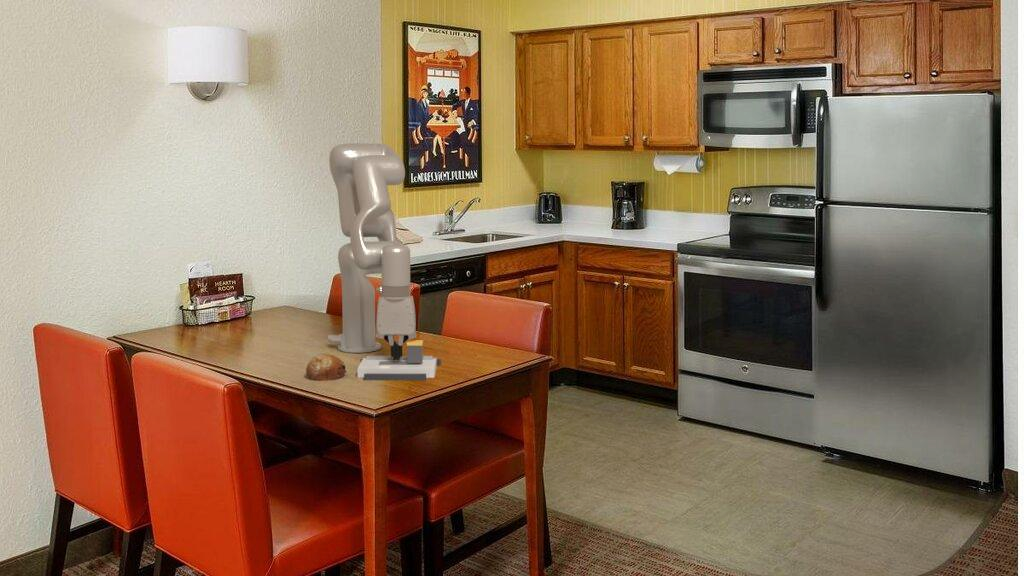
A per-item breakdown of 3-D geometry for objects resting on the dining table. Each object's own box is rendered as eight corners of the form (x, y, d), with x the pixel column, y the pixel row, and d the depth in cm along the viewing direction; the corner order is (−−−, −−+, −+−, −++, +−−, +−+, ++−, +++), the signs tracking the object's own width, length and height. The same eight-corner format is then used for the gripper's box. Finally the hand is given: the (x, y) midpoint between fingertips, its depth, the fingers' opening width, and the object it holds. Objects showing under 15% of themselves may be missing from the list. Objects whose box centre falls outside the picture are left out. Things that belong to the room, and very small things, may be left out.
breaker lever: (406, 363, 257) (406, 342, 256) (407, 360, 260) (407, 340, 259) (422, 363, 257) (422, 342, 256) (423, 360, 260) (422, 340, 259)
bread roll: (316, 385, 259) (302, 359, 257) (350, 368, 259) (337, 342, 257) (311, 395, 249) (297, 367, 248) (347, 378, 249) (333, 350, 248)
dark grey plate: (352, 380, 250) (352, 374, 250) (361, 363, 267) (361, 358, 267) (437, 380, 250) (437, 375, 250) (440, 364, 268) (440, 359, 268)
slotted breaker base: (357, 377, 252) (357, 365, 252) (363, 366, 264) (363, 355, 264) (434, 377, 253) (434, 365, 253) (436, 366, 265) (436, 355, 264)
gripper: (365, 293, 251) (366, 362, 254) (423, 294, 252) (423, 362, 255) (369, 289, 259) (370, 355, 262) (425, 289, 259) (425, 356, 262)
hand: (396, 359), depth 258 cm, fingers closed
